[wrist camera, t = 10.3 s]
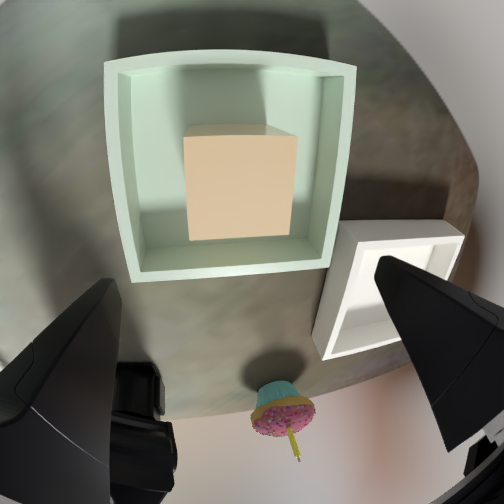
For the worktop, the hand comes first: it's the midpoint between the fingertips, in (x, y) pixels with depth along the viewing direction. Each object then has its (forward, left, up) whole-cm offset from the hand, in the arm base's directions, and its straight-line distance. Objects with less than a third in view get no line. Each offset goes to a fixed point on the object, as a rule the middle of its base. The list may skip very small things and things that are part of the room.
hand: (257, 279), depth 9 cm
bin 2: (+16, -11, -12) cm, 23 cm away
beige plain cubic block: (0, +1, -11) cm, 11 cm away
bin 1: (0, +1, -12) cm, 12 cm away
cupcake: (+6, -29, -12) cm, 32 cm away
